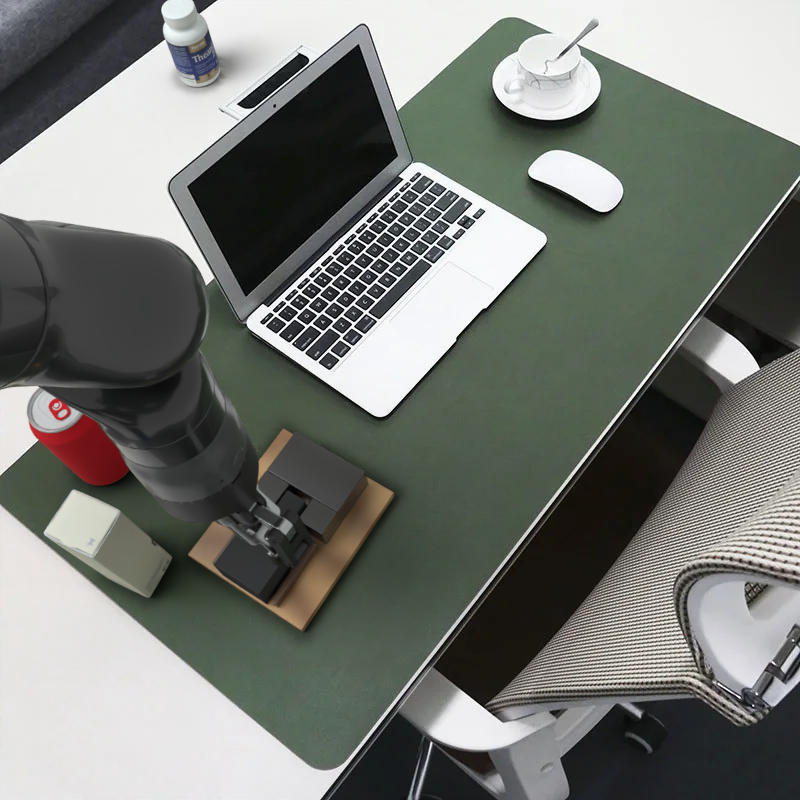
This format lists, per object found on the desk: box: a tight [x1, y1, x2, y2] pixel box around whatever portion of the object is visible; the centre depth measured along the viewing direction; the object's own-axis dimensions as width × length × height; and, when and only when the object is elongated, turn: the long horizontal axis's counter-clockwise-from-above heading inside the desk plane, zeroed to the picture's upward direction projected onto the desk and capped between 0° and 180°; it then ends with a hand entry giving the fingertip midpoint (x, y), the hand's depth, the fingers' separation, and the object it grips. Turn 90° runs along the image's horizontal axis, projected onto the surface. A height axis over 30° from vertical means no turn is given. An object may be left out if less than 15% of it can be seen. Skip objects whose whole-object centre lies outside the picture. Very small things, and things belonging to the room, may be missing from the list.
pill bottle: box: [161, 0, 221, 88], centre depth 103 cm, size 5×5×10 cm
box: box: [43, 489, 173, 599], centre depth 72 cm, size 5×4×13 cm
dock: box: [187, 428, 395, 633], centre depth 77 cm, size 15×13×4 cm
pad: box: [214, 491, 307, 604], centre depth 75 cm, size 9×5×4 cm, turn 147°
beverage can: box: [26, 387, 131, 486], centre depth 78 cm, size 6×6×12 cm
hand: (243, 529), depth 69 cm, fingers open, 8 cm apart
